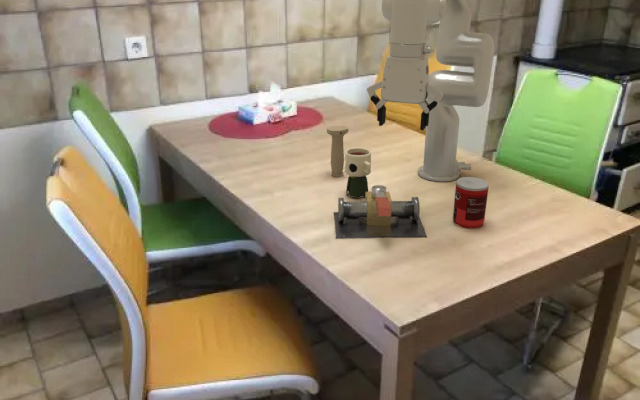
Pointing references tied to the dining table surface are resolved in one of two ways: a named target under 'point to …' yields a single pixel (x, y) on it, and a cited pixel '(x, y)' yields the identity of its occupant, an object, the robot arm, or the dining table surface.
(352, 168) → the character mug
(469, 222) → the canned food
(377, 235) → the valve
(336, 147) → the handle
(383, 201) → the lever
